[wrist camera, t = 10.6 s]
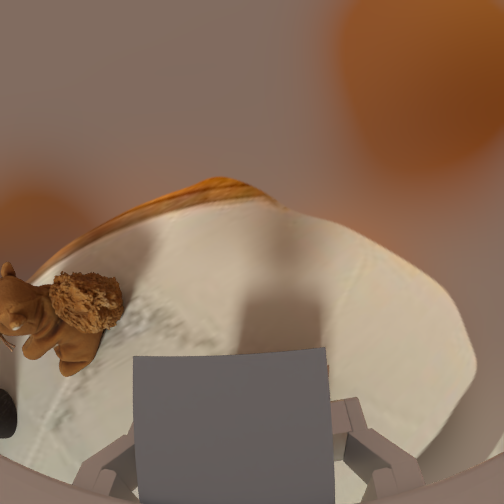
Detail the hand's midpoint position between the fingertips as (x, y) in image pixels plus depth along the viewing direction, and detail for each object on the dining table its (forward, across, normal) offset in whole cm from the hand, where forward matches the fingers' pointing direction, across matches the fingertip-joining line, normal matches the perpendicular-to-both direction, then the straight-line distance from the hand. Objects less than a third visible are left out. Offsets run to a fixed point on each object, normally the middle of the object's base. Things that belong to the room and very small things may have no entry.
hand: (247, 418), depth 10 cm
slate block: (+4, 0, +4) cm, 6 cm away
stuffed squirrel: (+18, +20, +7) cm, 28 cm away
